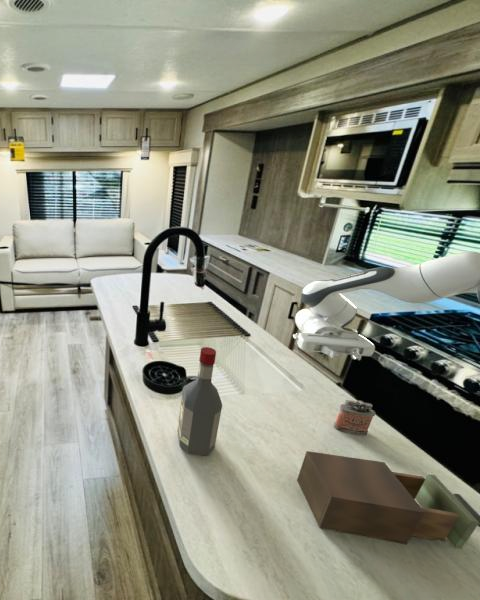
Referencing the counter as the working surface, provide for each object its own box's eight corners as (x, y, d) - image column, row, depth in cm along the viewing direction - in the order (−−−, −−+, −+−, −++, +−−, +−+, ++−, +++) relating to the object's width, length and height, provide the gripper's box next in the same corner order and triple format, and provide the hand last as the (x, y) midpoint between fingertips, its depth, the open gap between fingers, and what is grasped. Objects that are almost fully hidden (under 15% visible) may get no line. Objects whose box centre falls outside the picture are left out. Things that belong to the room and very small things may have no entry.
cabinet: (370, 492, 73) (384, 462, 70) (406, 544, 63) (425, 512, 59) (296, 480, 77) (306, 450, 73) (319, 528, 66) (331, 496, 63)
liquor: (208, 432, 91) (223, 343, 80) (215, 458, 83) (233, 362, 72) (176, 428, 93) (186, 340, 82) (179, 453, 85) (192, 359, 74)
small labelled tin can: (363, 427, 92) (374, 400, 88) (369, 436, 89) (381, 408, 85) (331, 422, 94) (340, 395, 90) (336, 431, 91) (346, 403, 87)
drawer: (442, 502, 70) (457, 477, 67) (487, 553, 60) (506, 527, 57) (347, 487, 74) (357, 463, 71) (375, 533, 64) (388, 507, 61)
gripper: (292, 325, 108) (310, 344, 96) (361, 330, 104) (389, 351, 92) (288, 341, 111) (305, 362, 98) (355, 346, 106) (382, 369, 94)
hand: (346, 357), depth 95 cm, fingers open, 5 cm apart
